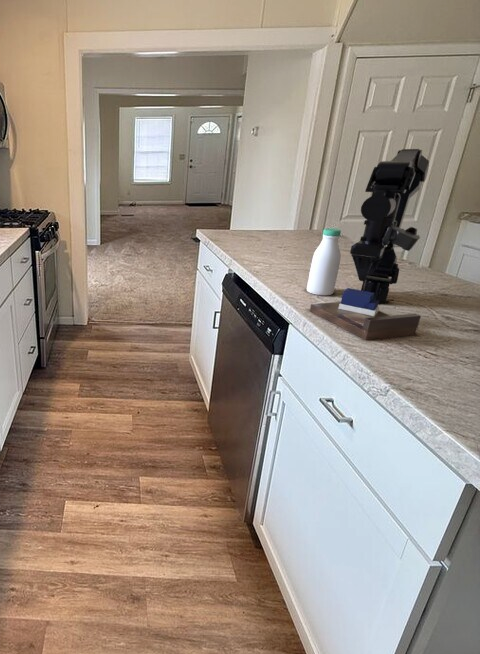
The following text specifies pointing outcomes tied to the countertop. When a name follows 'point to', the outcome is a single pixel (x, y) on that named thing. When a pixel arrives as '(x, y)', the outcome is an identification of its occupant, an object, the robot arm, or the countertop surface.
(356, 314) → the brown wooden tray
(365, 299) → the navy white-based block
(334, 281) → the milk bottle
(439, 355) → the countertop surface
